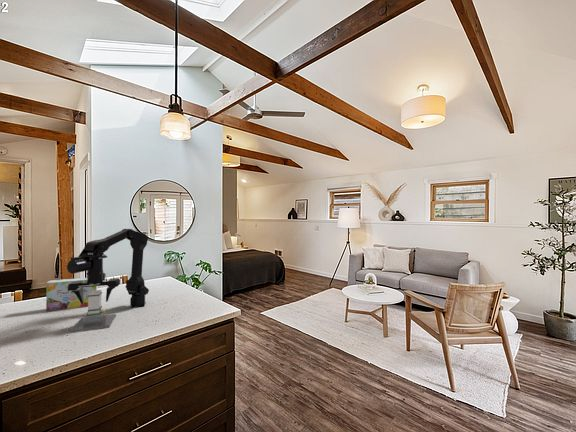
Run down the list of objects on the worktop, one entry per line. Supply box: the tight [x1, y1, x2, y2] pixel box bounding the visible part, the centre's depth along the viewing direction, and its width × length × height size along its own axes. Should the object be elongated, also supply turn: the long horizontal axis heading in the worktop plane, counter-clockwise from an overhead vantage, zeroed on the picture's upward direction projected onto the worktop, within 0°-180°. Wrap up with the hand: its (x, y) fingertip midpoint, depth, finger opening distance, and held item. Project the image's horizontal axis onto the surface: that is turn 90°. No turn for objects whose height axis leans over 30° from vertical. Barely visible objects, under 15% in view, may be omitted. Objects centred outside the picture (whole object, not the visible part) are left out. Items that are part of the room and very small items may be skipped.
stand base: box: [69, 308, 117, 333], centre depth 120 cm, size 14×14×6 cm
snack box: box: [45, 277, 99, 312], centre depth 141 cm, size 21×6×15 cm, turn 117°
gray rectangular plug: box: [87, 289, 103, 315], centre depth 120 cm, size 4×4×10 cm
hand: (95, 302), depth 120 cm, fingers open, 9 cm apart
